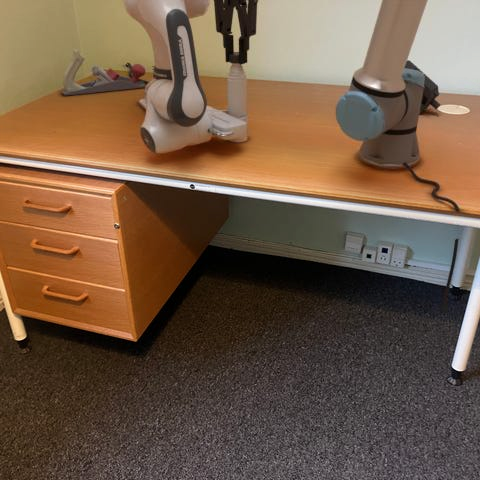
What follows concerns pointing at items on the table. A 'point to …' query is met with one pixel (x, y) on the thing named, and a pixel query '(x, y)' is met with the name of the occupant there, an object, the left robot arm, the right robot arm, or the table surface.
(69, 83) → the hand plane
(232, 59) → the cap
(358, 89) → the right robot arm
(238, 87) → the bottle
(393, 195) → the table surface
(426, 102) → the tool
